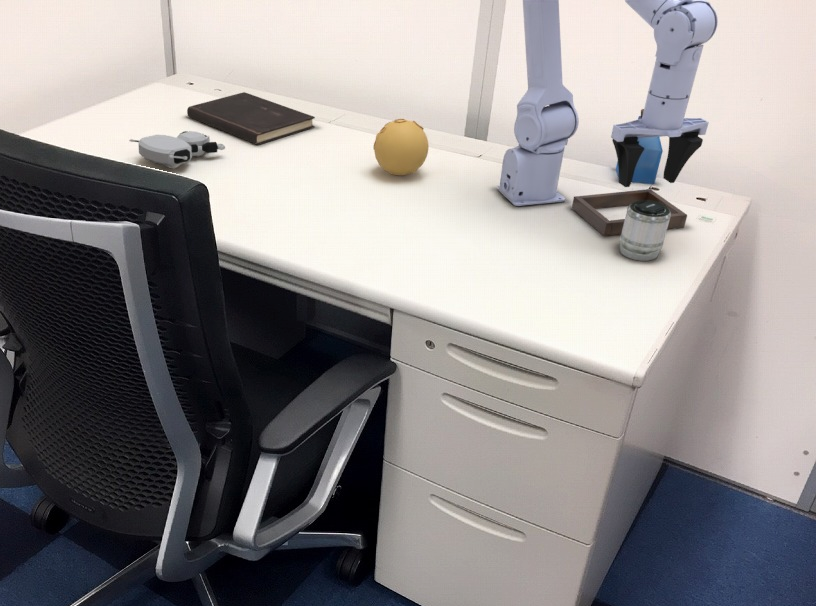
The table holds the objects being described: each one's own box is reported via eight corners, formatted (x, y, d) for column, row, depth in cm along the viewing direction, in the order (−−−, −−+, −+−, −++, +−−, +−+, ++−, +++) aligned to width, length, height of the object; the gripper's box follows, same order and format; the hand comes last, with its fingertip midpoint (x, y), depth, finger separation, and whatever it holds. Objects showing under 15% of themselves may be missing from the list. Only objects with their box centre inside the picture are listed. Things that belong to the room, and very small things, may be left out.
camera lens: (609, 250, 133) (620, 203, 128) (633, 240, 136) (645, 193, 131) (643, 266, 129) (656, 217, 124) (668, 254, 132) (681, 207, 127)
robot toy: (188, 146, 172) (127, 160, 162) (188, 123, 169) (126, 136, 160) (229, 161, 165) (168, 177, 155) (229, 138, 162) (167, 153, 153)
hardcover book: (244, 102, 192) (244, 91, 191) (314, 127, 178) (314, 116, 177) (187, 117, 183) (186, 107, 182) (256, 145, 170) (256, 134, 168)
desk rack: (603, 236, 137) (606, 223, 136) (571, 208, 146) (573, 196, 144) (684, 227, 140) (687, 214, 138) (647, 200, 148) (650, 188, 147)
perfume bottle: (654, 184, 154) (671, 118, 147) (618, 181, 155) (633, 115, 148) (650, 171, 159) (666, 107, 152) (615, 168, 160) (630, 104, 153)
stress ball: (437, 176, 157) (442, 122, 151) (394, 188, 153) (398, 133, 147) (403, 159, 164) (407, 107, 158) (362, 170, 159) (364, 117, 154)
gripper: (638, 105, 118) (617, 196, 126) (730, 98, 121) (703, 188, 129) (612, 90, 124) (593, 178, 132) (701, 83, 127) (677, 171, 135)
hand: (646, 182), depth 131 cm, fingers open, 7 cm apart
